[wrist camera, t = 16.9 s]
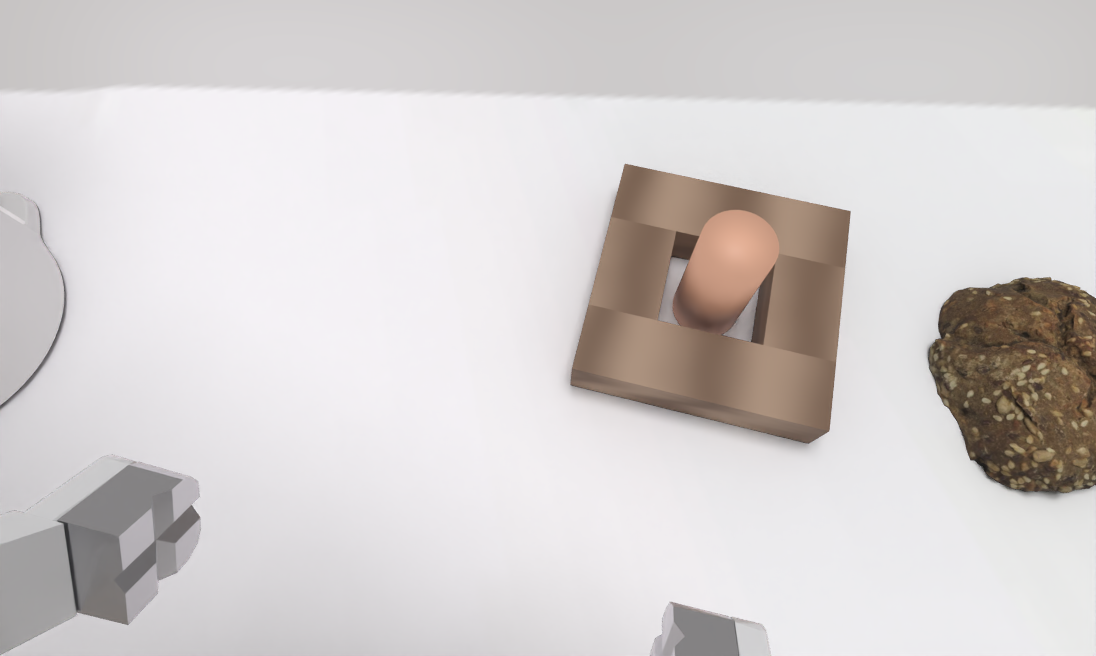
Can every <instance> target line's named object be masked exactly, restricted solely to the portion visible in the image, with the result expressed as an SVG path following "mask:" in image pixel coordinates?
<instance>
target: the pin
mask: <svg viewBox="0 0 1096 656" xmlns="http://www.w3.org/2000/svg"><path fill="white" fill-rule="evenodd" d="M778 255H779V241H778V238H777V235H776V233H775V231H774V230H773V228H772V227H771V226H770V225H769V224H768V223H767V222H766V221H765V220H764V219H763V218H761V217H760V216H758V215H756V214H753V213H751V212H747V211H743V210H728V211H724V212H721V213H718V214H716V215H715V216H713V217H712V218H710V219H709V220H708V221H707V223H706V224H705V225H704V227H703V229H702V232H701V234H700V236H699V239H698V241H697V243H696V246H695V248H694V251H693V253H692V255H691V258H690V260H689V262H688V265H687V267H686V270H685V272H684V274H683V277H682V279H681V282H680V284H679V286H678V289H677V291H676V293H675V296H674V299H673V313H674V316H675V318H676V320H677V321H678V323H679V324H680V325H681V326H684V327H688V328H692V329H696V330H701V331H705V332H709V333H714V334H718V335H722V334H724V333H725V332H727V331H728V330H729V329H730V328H731V327H732V326H733V324H734V323H735V321H736V320H737V318H738V317H739V316H740V314H741V313H742V311H743V310H744V308H745V307H746V305H747V304H748V302H749V301H750V299H751V298H752V296H753V295H754V294H755V292H756V291H757V289H758V288H759V286H760V285H761V283H762V282H763V280H764V279H765V277H766V276H767V274H768V273H769V272H770V270H771V269H772V267H773V266H774V264H775V262H776V261H777V258H778Z"/></svg>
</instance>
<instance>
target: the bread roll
mask: <svg viewBox="0 0 1096 656" xmlns="http://www.w3.org/2000/svg"><path fill="white" fill-rule="evenodd" d="M938 329H939V333H940V335H941V338H942V339H936V340H935V343H934V344H932V346H931V347H930V353H929V362H930V368H929V369H930V370H931V372H932V374H933V375H934V377H935V380H936V386H937V393H938V395H939V396H940V397H941V398H942V401H943V404H944V405H945V406H947V407H948V408H949V409H950V411H951V413H952V415H953V416H954V417H955V419H956V420H957V422H958V424H959V427H960V429H961V430H962V433H963V436H964V440H965V444H966V449H967V452H968V455H969V457H970V460H975V461H976V462H977V463H978V464H979V465H981V466H983V467H984V470H985V472H986V474H987V475H988V476H990V477H991V478H993V479H994V480H996V481H998V482H999V483H1001V484H1003V485H1006V486H1009V487H1011V488H1013V489H1020V490H1023V491H1035V492H1037V491H1059V492H1062V493H1067V492H1072V491H1073V490H1078V489H1086V488H1090V487H1092V486H1093V485H1096V298H1094V297H1093V296H1091V295H1089V294H1088V293H1087V292H1086V291H1084V290H1080V287H1077V286H1074V285H1069V284H1066V283H1064V282H1061V281H1057V280H1051V277H1046V278H1035V279H1030V278H1027V277H1026V278H1019V279H1015V280H1013V281H1011V282H1010V283H1007V284H1002V285H1001V284H996V285H994V286H992V287H990V288H970V287H969V288H966V289H963V290H958V291H956V292H955V293H954V294H953V295H952V296H951V297H950V298H949V299H948V300H947V301H946V302H945V304H944V305H943V307H942V309H941V312H940V316H939V322H938Z"/></svg>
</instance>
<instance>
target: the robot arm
mask: <svg viewBox="0 0 1096 656" xmlns="http://www.w3.org/2000/svg"><path fill="white" fill-rule="evenodd" d="M63 307H64V285H63V279H62V275H61V272H60V269H59V267H58V265H57V262H56V261H55V259H54V257H53V256H52V254H51V253H50V251H49V250H48V249H47V247H46V246H45V244H44V242H43V241H42V238H41V236H40V217H39V211H38V207H37V205H36V204H35V203H34V202H33V201H32V200H30V199H28V198H26V197H25V196H23V195H21V194H19V193H14V192H0V405H1V404H3V403H4V402H5V401H6V400H8V399H9V398H10V397H11V396H12V395H13V394H14V393H15V392H17V391H18V390H19V389H20V388H21V387H22V386H23V385H24V383H25V382H26V381H27V380H28V379H29V378H30V377H31V375H32V374H33V373H34V372H35V370H36V369H37V368H38V366H39V365H40V364H41V362H42V361H43V359H44V358H45V356H46V354H47V353H48V351H49V349H50V347H51V345H52V343H53V341H54V339H55V337H56V334H57V331H58V329H59V325H60V322H61V318H62V314H63ZM199 497H200V496H199V485H198V481H197V480H196V479H194V478H192V477H190V476H187V475H183V474H180V473H176V472H173V471H169V470H166V469H162V468H159V467H155V466H152V465H148V464H145V463H142V462H136V461H132V460H129V459H125V458H122V457H119V456H115V455H108V456H104V457H101V458H99V459H98V460H97V461H95V462H94V463H92V464H91V465H90V466H88V467H87V468H85V469H84V470H83V471H81V472H80V473H78V474H77V475H76V476H74V477H73V478H71V479H70V480H69V481H67V482H66V483H64V484H63V485H62V486H60V487H59V488H57V489H56V490H55V491H53V492H52V493H50V494H49V495H48V496H46V497H45V498H43V499H42V500H41V501H39V502H38V503H37V504H35V505H34V506H32V507H31V508H30V509H28V510H27V511H25V512H24V513H23V512H19V511H15V510H14V511H11V512H8V513H4V514H1V515H0V655H1V654H3V653H5V652H7V651H9V650H11V649H13V648H15V647H17V646H19V645H21V644H23V643H24V642H26V641H28V640H30V639H32V638H34V637H36V636H38V635H40V634H42V633H44V632H46V631H48V630H50V629H52V628H54V627H55V626H57V625H59V624H61V623H63V622H65V621H67V620H69V619H71V618H73V617H75V616H76V615H77V612H78V613H82V614H86V615H90V616H94V617H98V618H102V619H106V620H110V621H114V622H118V623H122V624H126V625H129V624H130V623H131V622H132V620H133V619H134V618H135V617H136V616H137V615H138V614H139V613H140V612H141V611H142V610H143V609H144V608H145V607H146V605H147V604H148V603H149V602H150V601H151V600H152V599H153V598H154V597H155V596H156V595H157V594H158V583H159V580H161V579H163V578H166V577H168V576H170V575H173V574H175V573H177V572H178V571H179V570H180V569H181V568H182V566H183V565H184V564H185V563H186V562H187V561H188V560H189V558H190V556H191V554H192V552H193V550H194V548H195V547H196V545H197V543H198V538H199V534H200V530H201V524H200V516H199V515H198V514H197V512H196V511H195V509H194V508H193V506H192V504H193V503H194V502H195V501H196V500H197V499H198V498H199ZM650 656H771V652H770V647H769V642H768V637H767V632H766V629H765V628H764V626H763V625H762V624H759V623H755V622H751V621H747V620H743V619H738V618H734V617H729V616H725V615H721V614H718V613H714V612H710V611H706V610H702V609H698V608H694V607H690V606H686V605H682V604H678V603H674V602H669V604H668V605H667V607H666V609H665V612H664V615H663V617H662V635H660V636H658V637H656V638H655V640H654V643H653V646H652V649H651V652H650Z"/></svg>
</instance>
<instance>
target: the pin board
mask: <svg viewBox="0 0 1096 656" xmlns="http://www.w3.org/2000/svg"><path fill="white" fill-rule="evenodd" d="M728 210H743V211H747V212H751V213H753V214H756V215H758V216H760V217H761V218H763V219H764V220H765V221H766V222H767V223H768V224H769V225H770V226H771V227H772V228H773V230H774V231H775V233H776V235H777V238H778V241H779V255H778V258H777V261H776V262H775V264H774V266H773V267H772V269H771V270H770V272H769V273H768V274H767V276H766V277H765V279H764V280H763V282H762V283H761V285H760V289H759V295H758V302H757V309H756V315H755V322H754V328H753V335H752V342H748V341H744V340H739V339H735V338H731V337H726V336H722V335H718V334H714V333H709V332H705V331H701V330H696V329H692V328H688V327H684V326H679V325H675V324H671V323H666V322H662V321H658V315H659V311H660V306H661V301H662V297H663V292H664V287H665V282H666V278H667V273H668V268H669V263H670V259H671V256H673V257H678V258H682V259H687V260H690V258H691V255H692V253H693V251H694V248H695V246H696V243H697V241H698V239H699V236H700V234H701V232H702V229H703V227H704V225H705V224H706V223H707V221H708V220H709V219H710V218H712V217H713V216H715V215H716V214H718V213H721V212H724V211H728ZM850 213H851V211H847V210H842V209H837V208H832V207H828V206H823V205H818V204H813V203H809V202H804V201H799V200H794V199H790V198H785V197H780V196H775V195H771V194H766V193H761V192H756V191H752V190H747V189H742V188H737V187H733V186H728V185H723V184H718V183H714V182H709V181H704V180H699V179H695V178H690V177H685V176H680V175H676V174H671V173H666V172H661V171H657V170H652V169H647V168H642V167H638V166H633V165H628V164H625V165H624V169H623V173H622V177H621V181H620V184H619V188H618V192H617V196H616V200H615V204H614V208H613V212H612V216H611V219H610V223H609V227H608V231H607V235H606V239H605V243H604V247H603V250H602V254H601V258H600V262H599V266H598V270H597V274H596V278H595V281H594V285H593V289H592V293H591V297H590V301H589V305H588V309H587V313H586V316H585V320H584V324H583V328H582V332H581V336H580V340H579V344H578V347H577V351H576V355H575V359H574V363H573V367H572V374H571V384H570V385H573V386H577V387H581V388H585V389H589V390H593V391H597V392H601V393H605V394H609V395H613V396H618V397H622V398H626V399H630V400H634V401H638V402H642V403H646V404H650V405H654V406H658V407H662V408H666V409H670V410H674V411H679V412H683V413H687V414H691V415H695V416H699V417H703V418H707V419H711V420H715V421H719V422H723V423H727V424H731V425H735V426H739V427H744V428H748V429H752V430H756V431H760V432H764V433H768V434H772V435H776V436H780V437H784V438H788V439H792V440H796V441H800V442H804V443H810V442H812V441H814V440H815V439H817V438H819V437H820V436H822V435H824V434H826V433H827V432H829V429H830V419H831V409H832V398H833V388H834V378H835V367H836V357H837V347H838V337H839V326H840V316H841V306H842V295H843V285H844V275H845V264H846V254H847V244H848V233H849V223H850Z"/></svg>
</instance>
